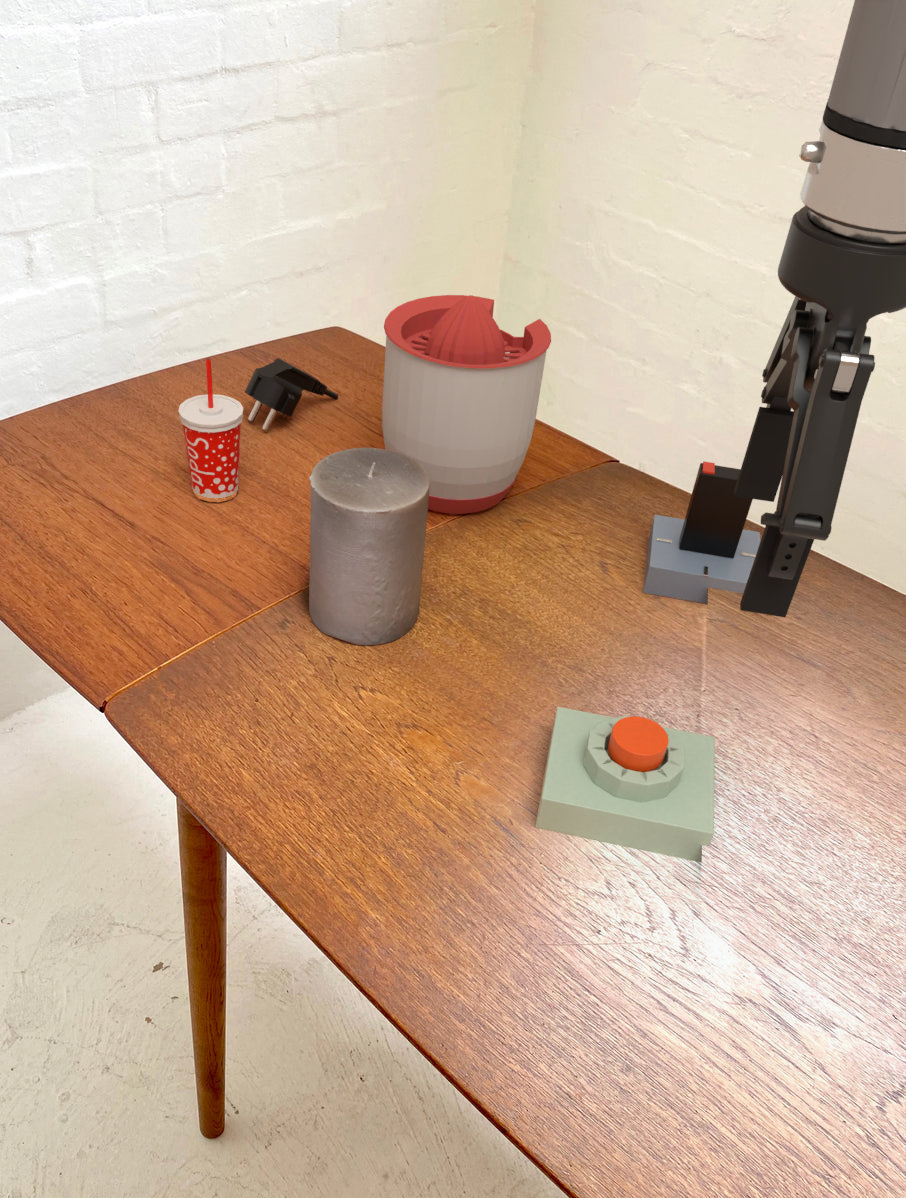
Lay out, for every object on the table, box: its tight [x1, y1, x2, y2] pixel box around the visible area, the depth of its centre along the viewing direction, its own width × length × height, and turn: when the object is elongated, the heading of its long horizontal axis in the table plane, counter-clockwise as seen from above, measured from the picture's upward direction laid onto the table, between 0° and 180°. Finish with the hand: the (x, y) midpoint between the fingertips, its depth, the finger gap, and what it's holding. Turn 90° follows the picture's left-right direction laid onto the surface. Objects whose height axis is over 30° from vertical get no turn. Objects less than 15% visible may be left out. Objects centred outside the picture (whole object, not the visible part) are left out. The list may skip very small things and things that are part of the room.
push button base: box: [534, 706, 716, 863], centre depth 81 cm, size 12×10×5 cm
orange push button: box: [608, 715, 669, 772], centre depth 79 cm, size 4×4×2 cm
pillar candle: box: [308, 447, 430, 646], centre depth 93 cm, size 10×10×15 cm
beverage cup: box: [178, 357, 244, 499], centre depth 107 cm, size 6×6×14 cm
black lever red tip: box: [679, 461, 754, 558], centre depth 100 cm, size 5×2×8 cm, turn 77°
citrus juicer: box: [381, 294, 552, 516], centre depth 108 cm, size 16×17×20 cm
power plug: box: [244, 358, 339, 433], centre depth 123 cm, size 6×8×12 cm
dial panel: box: [642, 514, 761, 605], centre depth 104 cm, size 10×9×3 cm
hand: (757, 550), depth 73 cm, fingers open, 13 cm apart
